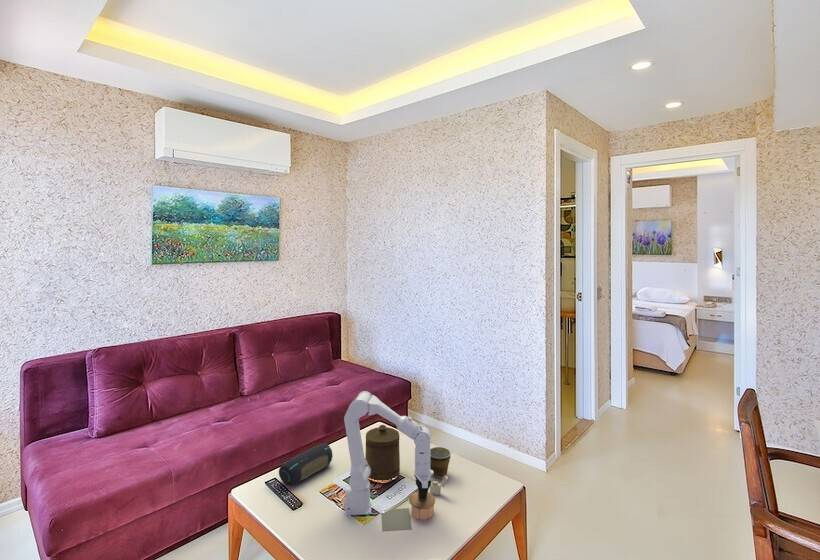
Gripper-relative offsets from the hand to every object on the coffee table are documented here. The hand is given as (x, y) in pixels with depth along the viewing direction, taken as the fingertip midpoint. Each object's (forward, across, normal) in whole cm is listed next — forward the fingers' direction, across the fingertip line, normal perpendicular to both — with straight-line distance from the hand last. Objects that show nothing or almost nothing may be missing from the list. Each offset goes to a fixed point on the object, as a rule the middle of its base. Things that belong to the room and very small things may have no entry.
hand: (422, 495), depth 156 cm
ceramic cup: (+7, +26, -9) cm, 28 cm away
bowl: (+7, 0, 0) cm, 7 cm away
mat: (+7, -3, +10) cm, 13 cm away
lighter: (+7, +11, -8) cm, 15 cm away
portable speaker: (+7, +31, +46) cm, 56 cm away
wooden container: (+7, +28, +14) cm, 32 cm away
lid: (+2, 0, 0) cm, 2 cm away
